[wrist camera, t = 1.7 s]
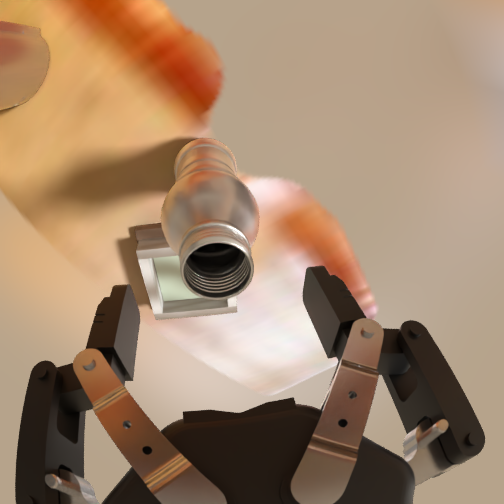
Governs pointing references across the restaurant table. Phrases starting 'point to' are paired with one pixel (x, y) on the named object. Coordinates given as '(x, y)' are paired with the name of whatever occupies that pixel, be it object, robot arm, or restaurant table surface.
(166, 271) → the socket board
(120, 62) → the restaurant table surface
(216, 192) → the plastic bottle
